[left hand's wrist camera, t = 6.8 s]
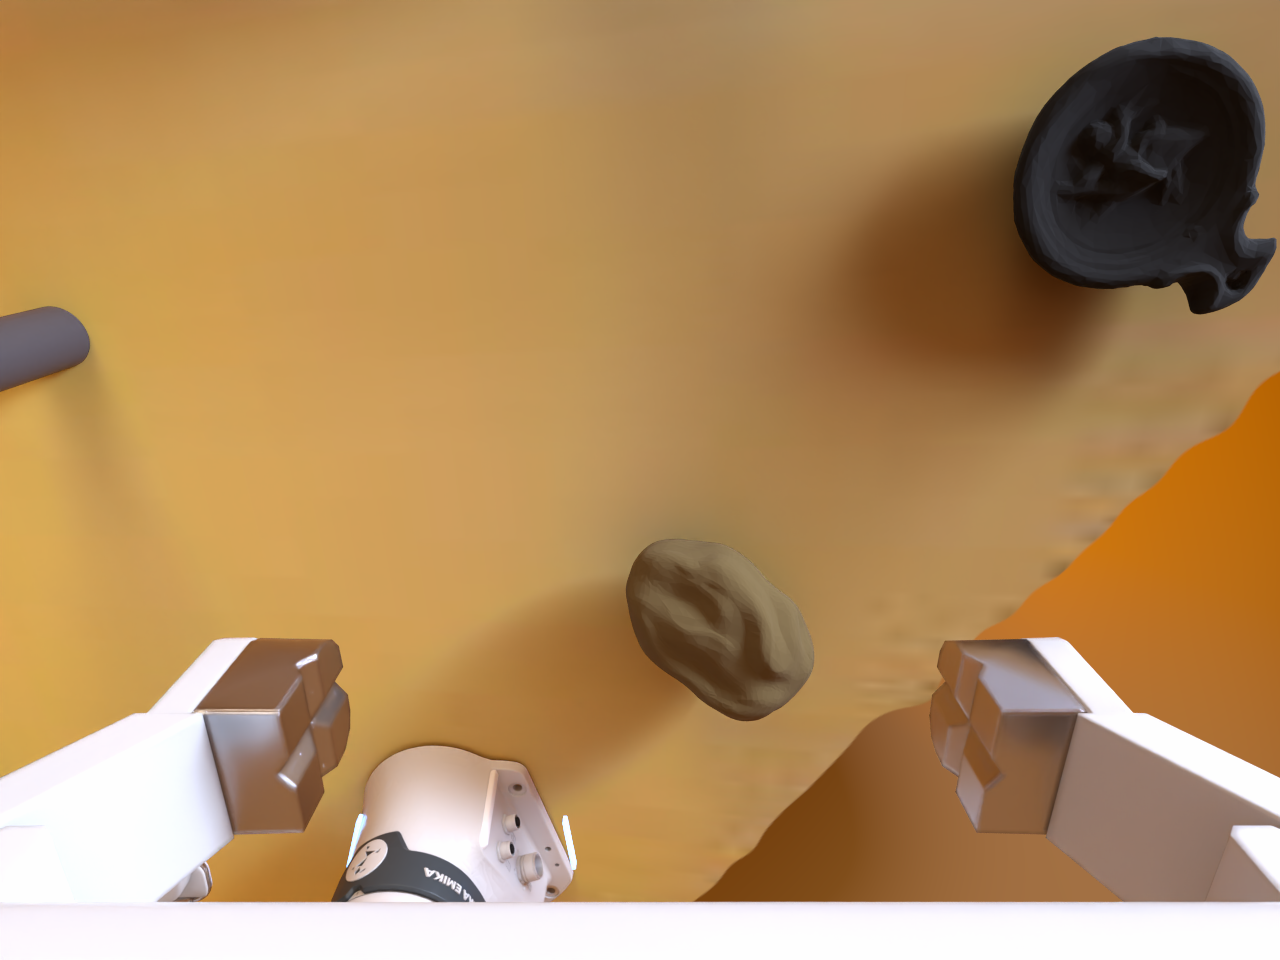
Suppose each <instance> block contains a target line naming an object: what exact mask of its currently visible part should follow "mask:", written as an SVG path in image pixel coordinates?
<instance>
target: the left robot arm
mask: <svg viewBox="0 0 1280 960" xmlns="http://www.w3.org/2000/svg"><path fill="white" fill-rule="evenodd" d="M342 668H343V664H342V660H341V655H340V650H339V646H338V645H337V644H336V643H335V642H334V641H333V640H329V639H280V638H259V639H257V638H222V639H218V640H214V641H213V642H212V643H211V644H210V645H209V646H208V647H207V648H206V649H205V650H204V651H203V652H202V653H201V655H200V656H199V657H198V658H197V659H196V660H195V661H194V662H193V663H192V664H191V665H190V667H189V668H188V669H187V670H186V671H185V672H184V673H183V674H182V675H181V676H180V677H179V679H178V680H177V681H176V682H175V683H174V684H173V685H172V686H171V687H170V688H169V689H168V691H167V692H166V693H165V694H164V695H163V696H162V697H161V698H160V699H159V700H158V701H157V703H156V704H155V705H154V706H153V707H152V708H151V709H150V710H149V711H148V712H147V713H134V714H132V715H130V716H128V717H126V718H124V719H121V720H119V721H117V722H115V723H113V724H111V725H109V726H107V727H105V728H103V729H101V730H99V731H97V732H95V733H92V734H90V735H88V736H86V737H84V738H82V739H80V740H78V741H76V742H74V743H72V744H70V745H68V746H66V747H63V748H61V749H59V750H57V751H55V752H53V753H51V754H49V755H47V756H45V757H43V758H41V759H39V760H36V761H34V762H32V763H30V764H28V765H26V766H24V767H22V768H20V769H18V770H16V771H14V772H12V773H10V774H7V775H5V776H3V777H1V778H0V960H1280V778H1278V777H1276V776H1274V775H1272V774H1270V773H1268V772H1266V771H1264V770H1262V769H1260V768H1258V767H1256V766H1253V765H1252V764H1249V763H1247V762H1245V761H1243V760H1241V759H1239V758H1237V757H1235V756H1233V755H1231V754H1229V753H1227V752H1225V751H1223V750H1220V749H1218V748H1216V747H1214V746H1212V745H1210V744H1208V743H1206V742H1204V741H1202V740H1200V739H1198V738H1196V737H1194V736H1191V735H1189V734H1187V733H1185V732H1183V731H1181V730H1179V729H1177V728H1175V727H1173V726H1171V725H1169V724H1167V723H1165V722H1163V721H1161V720H1158V719H1156V718H1154V717H1152V716H1150V715H1148V714H1146V713H1133V712H1132V711H1131V710H1130V709H1129V708H1128V707H1127V706H1126V705H1125V704H1124V703H1123V701H1122V700H1121V699H1120V698H1119V697H1118V696H1117V695H1116V694H1115V693H1114V692H1113V691H1112V689H1111V688H1110V687H1109V686H1108V685H1107V684H1106V683H1105V682H1104V681H1103V680H1102V679H1101V677H1100V676H1099V675H1098V674H1097V673H1096V672H1095V671H1094V670H1093V669H1092V668H1091V667H1090V665H1089V664H1088V663H1087V662H1086V661H1085V660H1084V659H1083V658H1082V657H1081V656H1080V654H1079V653H1078V652H1077V651H1076V650H1075V649H1074V648H1073V647H1072V646H1071V645H1070V644H1069V643H1068V642H1067V641H1065V640H1063V639H1061V638H1058V637H1054V638H1026V639H1005V640H956V641H945V642H944V644H943V646H942V648H941V650H940V653H939V659H938V664H937V668H938V670H939V671H940V673H941V675H942V677H943V678H944V680H945V682H944V683H943V685H941V686H940V687H939V688H938V689H937V690H936V691H935V692H934V693H933V694H932V700H931V708H930V715H929V717H930V729H931V738H932V741H933V745H934V748H935V751H936V754H937V756H938V758H939V760H940V762H941V764H942V766H943V767H944V768H946V769H947V770H949V771H950V772H952V773H953V774H955V775H956V776H957V777H958V781H957V787H956V794H957V796H958V798H959V799H960V801H961V803H962V805H963V807H964V809H965V811H966V813H967V815H968V817H969V819H970V821H971V823H972V825H973V827H974V829H975V830H976V832H977V833H1010V834H1047V835H1046V838H1047V839H1048V840H1049V841H1050V842H1052V843H1053V844H1054V845H1055V846H1057V847H1058V848H1059V849H1060V850H1061V851H1063V852H1064V853H1065V854H1066V855H1067V856H1069V857H1070V858H1071V859H1072V860H1074V861H1075V862H1076V863H1077V864H1078V865H1080V866H1081V867H1082V868H1083V869H1084V870H1086V871H1087V872H1088V873H1089V874H1091V875H1092V876H1093V877H1094V878H1095V879H1097V880H1098V881H1099V882H1100V883H1101V884H1103V885H1104V886H1105V887H1106V888H1108V889H1109V890H1110V891H1111V892H1112V893H1114V894H1115V895H1116V896H1117V897H1118V898H1120V899H1121V900H1122V901H1123V902H157V901H158V900H159V899H161V898H162V897H163V896H164V895H165V894H167V893H168V892H169V891H170V890H171V889H173V888H174V887H175V886H176V885H178V884H179V883H180V882H181V881H182V880H184V879H185V878H186V877H187V876H189V875H190V874H191V873H192V872H193V871H195V870H196V869H197V868H198V867H199V866H201V865H202V864H203V863H204V862H206V861H207V860H208V859H209V858H210V857H212V856H213V855H214V854H215V853H217V852H218V851H219V850H220V849H221V848H223V847H224V846H225V845H226V844H227V843H229V842H230V841H231V840H232V839H234V835H233V834H268V833H303V832H304V831H305V829H306V827H307V825H308V823H309V821H310V819H311V817H312V815H313V813H314V811H315V809H316V807H317V805H318V803H319V802H320V800H321V798H322V796H323V794H324V787H323V781H322V777H323V776H324V775H325V774H327V773H328V772H330V771H331V770H333V769H334V768H336V767H337V766H338V764H339V762H340V760H341V758H342V756H343V754H344V751H345V749H346V745H347V740H348V735H349V731H350V706H349V699H348V694H347V693H346V692H345V691H344V690H343V689H342V688H341V687H340V686H339V685H338V684H337V683H336V682H335V680H336V678H337V677H338V675H339V673H340V671H341V670H342Z"/></svg>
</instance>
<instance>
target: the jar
mask: <svg viewBox="0 0 1280 960" xmlns="http://www.w3.org/2000/svg"><path fill="white" fill-rule="evenodd" d="M88 352H89V337H88V334H87V332H86V330H85V328H84V326H83V325H82V323H81V322H80V321H79V320H78V319H77V318H76V317H75V316H73V315H72V314H71V313H69V312H67V311H65V310H63V309H60V308H57V307H42V308H37V309H33V310H29V311H24V312H20V313H16V314H11V315H7V316H3V317H0V392H1V391H4V390H7V389H10V388H13V387H16V386H19V385H21V384H24V383H27V382H30V381H33V380H36V379H39V378H42V377H44V376H47V375H50V374H53V373H56V372H59V371H62V370H65V369H67V368H70V367H73V366H76V365H78V364H80V363H81V362H82V361H83V360H84V359H85V358H86V356H87V354H88Z"/></svg>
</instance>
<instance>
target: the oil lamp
mask: <svg viewBox="0 0 1280 960" xmlns="http://www.w3.org/2000/svg"><path fill="white" fill-rule="evenodd" d="M1264 145H1265V117H1264V110H1263V105H1262V101H1261V98H1260V96H1259V93H1258V91H1257V89H1256V87H1255V85H1254V83H1253V81H1252V79H1251V78H1250V77H1249V75H1248V74H1247V73H1246V72H1245V71H1244V69H1243V68H1242V67H1241V66H1240V65H1239V64H1238V63H1237V62H1236V61H1235V60H1234V59H1232V58H1231V57H1230V56H1229V55H1227V54H1226V53H1224V52H1223V51H1220V50H1218V49H1216V48H1215V47H1213V46H1210V45H1208V44H1205V43H1202V42H1197V41H1193V40H1186V39H1180V38H1171V37H1154V38H1150V39H1147V40H1142V41H1137V42H1133V43H1130V44H1127V45H1124V46H1120V47H1117V48H1115V49H1113V50H1111V51H1109V52H1107V53H1105V54H1104V55H1102V56H1100V57H1099V58H1097V59H1095V60H1094V61H1092V62H1090V63H1089V64H1087V65H1086V66H1085V67H1083V68H1082V69H1080V70H1079V71H1078V72H1077V73H1076V74H1074V75H1073V76H1072V77H1071V78H1069V79H1068V81H1067V82H1066V83H1065V84H1064V85H1063V86H1062V87H1061V88H1060V89H1059V90H1057V91H1056V92H1055V94H1054V95H1053V96H1052V97H1051V98H1050V99H1049V101H1048V102H1047V103H1046V104H1045V106H1044V107H1043V108H1042V110H1041V111H1040V113H1039V114H1038V116H1037V118H1036V119H1035V121H1034V123H1033V125H1032V127H1031V129H1030V132H1029V134H1028V136H1027V139H1026V141H1025V144H1024V146H1023V149H1022V152H1021V155H1020V158H1019V161H1018V165H1017V168H1016V171H1015V176H1014V184H1013V187H1014V193H1013V202H1014V221H1015V224H1016V227H1017V230H1018V233H1019V236H1020V238H1021V240H1022V242H1023V243H1024V245H1025V247H1026V249H1027V251H1028V253H1029V255H1030V256H1031V258H1032V259H1033V260H1034V261H1035V262H1036V263H1037V264H1038V265H1040V266H1041V267H1042V268H1043V269H1044V270H1045V271H1047V272H1048V273H1049V274H1051V275H1052V276H1054V277H1056V278H1058V279H1061V280H1063V281H1066V282H1068V283H1071V284H1073V285H1077V286H1081V287H1089V288H1096V289H1115V288H1121V287H1129V286H1134V285H1143V286H1149V287H1151V288H1155V289H1158V288H1164V287H1168V286H1170V285H1171V284H1172V283H1175V282H1178V283H1179V284H1180V286H1181V287H1182V289H1183V290H1184V292H1185V294H1186V296H1187V300H1188V303H1189V307H1190V310H1191V312H1192V313H1194V314H1206V313H1210V312H1214V311H1217V310H1220V309H1223V308H1225V307H1228V306H1230V305H1232V304H1234V303H1235V302H1237V301H1239V300H1241V299H1242V298H1243V297H1244V296H1246V295H1247V294H1248V293H1249V292H1250V291H1251V290H1252V289H1253V288H1254V286H1255V285H1256V283H1257V282H1258V280H1259V278H1260V277H1261V275H1262V274H1263V272H1264V270H1265V269H1266V267H1267V265H1268V263H1269V262H1270V260H1271V259H1272V257H1273V255H1274V253H1275V250H1276V239H1275V238H1270V239H1249V238H1247V237H1246V235H1245V233H1244V229H1243V225H1244V221H1245V218H1246V215H1247V213H1248V211H1249V209H1250V207H1251V206H1252V205H1254V204H1255V203H1256V201H1257V199H1258V197H1259V193H1258V192H1257V189H1256V187H1255V182H1256V177H1257V174H1258V171H1259V167H1260V163H1261V158H1262V154H1263V150H1264Z"/></svg>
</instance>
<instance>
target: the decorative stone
mask: <svg viewBox="0 0 1280 960" xmlns="http://www.w3.org/2000/svg"><path fill="white" fill-rule="evenodd" d="M626 597H627V602H628V607H629V613H630V618H631V622H632V626H633V629H634V632H635V635H636V637H637V640H638V642H639V644H640V646H641V648H642V650H643V651H644V653H645V654H646V655H647V656H648V657H649V658H650V659H651V660H652V661H653V662H654V663H655V664H656V665H657V666H658V667H660V668H661V669H662V670H664V671H665V672H666V673H668V674H669V675H671V676H672V677H674V678H676V679H677V680H679V681H680V682H681V683H683V684H684V685H685V686H686V687H688V688H689V689H690V690H691V691H692V692H693V693H694V694H695V695H696V696H697V697H698V698H699V699H700V700H702V701H703V702H705V703H706V704H707V705H709V706H710V707H712V708H714V709H715V710H717V711H719V712H721V713H722V714H724V715H726V716H728V717H730V718H732V719H735V720H739V721H754V720H759V719H761V718H763V717H765V716H767V715H769V714H770V713H772V712H773V711H775V710H777V709H779V708H781V707H782V706H783V705H785V704H786V703H787V702H788V701H789V700H790V699H791V698H792V697H794V696H795V694H796V693H797V692H798V691H799V690H800V689H801V688H802V686H803V685H804V684H805V682H806V681H807V679H808V678H809V676H810V674H811V672H812V669H813V664H814V648H813V643H812V639H811V636H810V633H809V631H808V628H807V626H806V623H805V621H804V618H803V616H802V614H801V612H800V610H799V608H798V607H797V605H796V604H795V603H794V602H793V601H792V600H791V599H790V598H789V597H788V596H786V595H785V594H784V593H782V592H781V591H779V590H778V589H777V588H775V587H774V586H773V585H772V584H771V583H770V582H769V581H768V580H767V579H766V578H765V577H764V576H763V575H762V574H761V572H760V571H759V570H758V569H757V568H756V567H755V566H754V564H752V563H751V562H750V561H749V560H748V559H747V558H746V557H744V556H743V555H741V554H740V553H739V552H737V551H735V550H734V549H732V548H730V547H728V546H726V545H723V544H719V543H711V542H702V541H691V540H683V539H669V540H661V541H657V542H655V543H653V544H651V545H649V546H648V547H647V548H645V549H644V550H643V551H642V552H641V553H640V554H639V556H638V557H637V559H636V560H635V562H634V564H633V566H632V569H631V572H630V575H629V578H628V581H627V585H626Z"/></svg>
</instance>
